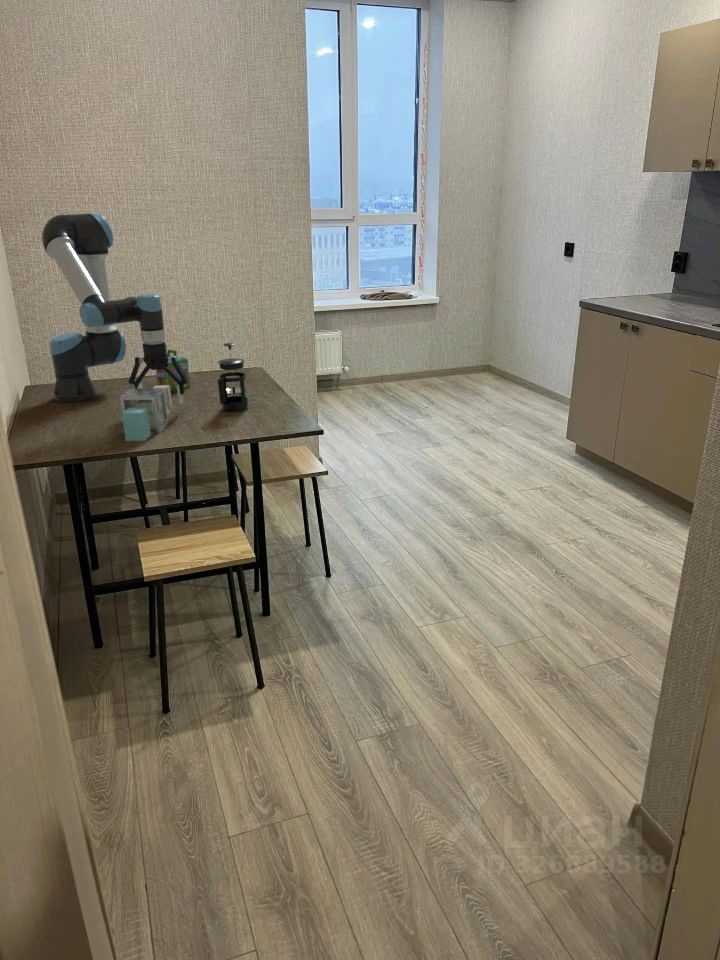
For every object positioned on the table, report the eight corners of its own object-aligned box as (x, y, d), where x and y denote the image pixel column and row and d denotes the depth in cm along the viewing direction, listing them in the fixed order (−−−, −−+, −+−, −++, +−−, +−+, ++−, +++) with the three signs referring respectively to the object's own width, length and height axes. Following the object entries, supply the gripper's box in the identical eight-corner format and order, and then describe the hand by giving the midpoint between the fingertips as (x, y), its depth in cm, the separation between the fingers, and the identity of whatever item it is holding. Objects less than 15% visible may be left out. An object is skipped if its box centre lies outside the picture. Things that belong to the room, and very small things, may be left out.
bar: (155, 429, 228) (151, 402, 224) (140, 429, 228) (136, 402, 224) (172, 410, 248) (169, 385, 245) (158, 410, 248) (155, 385, 245)
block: (125, 441, 217) (121, 413, 214) (132, 434, 223) (128, 407, 219) (144, 441, 217) (140, 413, 213) (151, 434, 222) (147, 407, 219)
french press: (236, 402, 255) (230, 339, 246) (255, 406, 250) (250, 342, 241) (212, 410, 246) (206, 345, 237) (232, 414, 241) (226, 348, 232)
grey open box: (159, 433, 224) (154, 396, 219) (125, 433, 224) (119, 396, 220) (168, 423, 233) (164, 388, 228) (136, 423, 233) (130, 388, 229)
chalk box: (157, 389, 275) (152, 351, 269) (174, 384, 282) (170, 347, 276) (174, 392, 270) (169, 354, 264) (191, 386, 277) (187, 349, 272)
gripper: (113, 344, 232) (122, 406, 240) (187, 344, 231) (194, 406, 239) (121, 339, 239) (129, 400, 247) (193, 339, 238) (199, 400, 246)
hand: (161, 403), depth 243 cm, fingers open, 13 cm apart
